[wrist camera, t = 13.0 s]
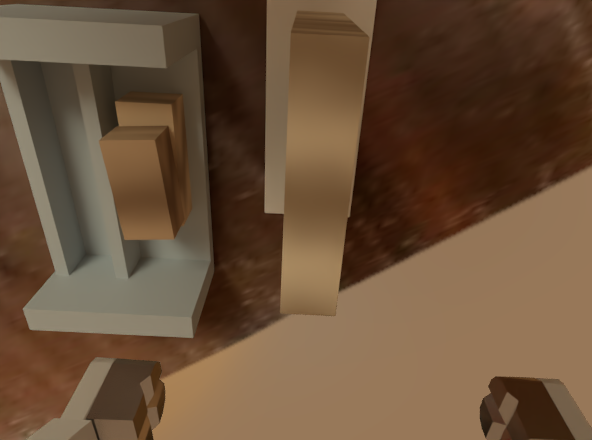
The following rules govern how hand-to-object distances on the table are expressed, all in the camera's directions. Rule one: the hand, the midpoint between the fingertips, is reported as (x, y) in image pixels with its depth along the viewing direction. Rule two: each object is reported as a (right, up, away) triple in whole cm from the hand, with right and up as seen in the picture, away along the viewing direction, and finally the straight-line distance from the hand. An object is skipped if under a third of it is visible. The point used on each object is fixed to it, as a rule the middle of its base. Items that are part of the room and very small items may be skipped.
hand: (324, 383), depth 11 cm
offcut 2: (-11, +7, +19) cm, 23 cm away
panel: (0, +11, +20) cm, 23 cm away
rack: (-14, +9, +23) cm, 28 cm away
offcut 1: (-11, +9, +21) cm, 25 cm away
